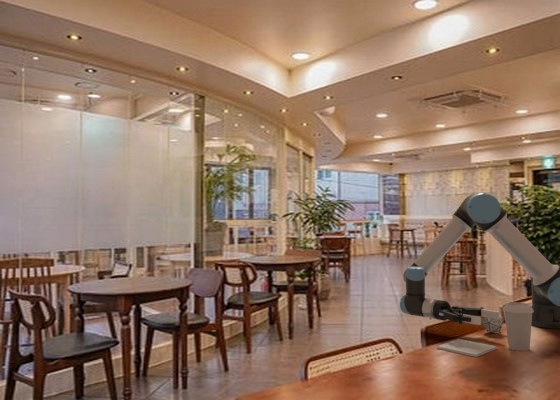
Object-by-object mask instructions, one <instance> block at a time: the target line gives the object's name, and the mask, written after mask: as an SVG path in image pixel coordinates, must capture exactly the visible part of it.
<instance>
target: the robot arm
mask: <svg viewBox="0 0 560 400" xmlns="http://www.w3.org/2000/svg"><path fill="white" fill-rule="evenodd" d="M451 216H452V219H451V220H450V221H449V222H447V224H446V225H445V227H444V228H443V229H442V230H441V231H440V232H439V234H438V235H436V237H435V238H434V239H433V241H432V242H430V244H429V245H428V246H427V247H425V249H424V251H423V252H422V253H421V254H420V255H419V256H418V257H417V259H416V260H415V261H413V263H412V264H411V265H410V266H407V267H406V269H405V270H404V272H403V275H402V276H403V280H404V283H405V295H402V296H401V298H400V302H399V308H400V311H401V312H402V313H403V314H407V315H409V316H415V317H422V318H428V319H429V320H430V321H431V320H433V319H434V320H438V321H443V322H444V321H447V320H448V321H450V322H454V323H455V324H456V323H458V324H459V325H462V324H463V323H464V324H465V323H466V324H472V325H476V326H477V325H478V326H482V325H481V323H482V318H484V317H486V318H493V319H499V318H500V311H496V310H490V309H484V307H483V306H481V307H472V306H471V307H469V306H460V305H457V306H456V305H454V306H453V305H452V306H451V304H450V303H449V302H448V301H446V300H440V299H435V298H429V297H428V298H427V297H426V277H427V276H428V274H429V273H430V272H432V270H433V269H434V268H435V266H436V265H438V263H439V262H440V261H441V260H442V259H443V257H444V256H446V254H447V253H448V252H449V251H450V250H451V249H452V248H453V246H455V244H456V243H457V242H458V241H459V240H460V239H461V238H462V236H464V234H465V233H466V232H467V231H470V230H473V228H474V227H475V226H477V227H478V228H479V229H480V230H481V232H482V233H489V235H491V236H492V237H493V238H494V239H495V241H497V243H498V244H500V246H502V248H503V249H504V250H505V251H506V252H507V253H508V254H509V255H510V256H511V257H512V258H513V259H514V260H515V261H516V262H517V263H518V264H519V265H520V266H521V267H522V269H524V270H525V271H526V273H527V274H528V275H529V276H530V279H531V282H530V283H531V307H532V308H533V311H534V312H533V313H532V323H531V326H533V325H534V327H537V328H544V329H545V328H546V329H560V265H559V264H552V263H551V262H550V261H549V260H548V259H547V258H546V257H545V256H544V255H543V254H542V253H541V252H540V251H539V250H538V248H536V247H535V246H534V245H533V244H532V242H530V240H529V239H528V238H526V236H525V235H524V234H522V232H521V231H519V230H518V228H517V227H516V226H515V225H514V224H513V223H512V222H511V221H510V220H509V219H508V212H507V211H506V210H505V209H504V208H503V207H502V206H501V203H500V201H499V200H498V198H497V197H495V196H494V195H493V194H490V193H487V192H477V193H474V194H469V195H468V196H467V197H466V198H464V200H463V201H462V202H461V204H460V205H459V207H458V208H457V209H456V210H455V212H453V214H452V215H451Z"/></svg>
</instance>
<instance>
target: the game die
mask: <svg viewBox="0 0 560 400" xmlns="http://www.w3.org/2000/svg"><path fill="white" fill-rule="evenodd" d="M482 318H483V319H482V320H481V325H480V326H482V328H484V329H485V330H486V332H489V335H491V334H492V333H493V334H494V333H499V334H502V332H501V329H503V328H502V327H503V324H504V323H506V320H503V319H502V318H501V317H499V319H493V318H486V317H482Z"/></svg>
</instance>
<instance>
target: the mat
mask: <svg viewBox="0 0 560 400" xmlns="http://www.w3.org/2000/svg"><path fill="white" fill-rule="evenodd" d="M436 348H437V349H439V350H443V351H447V352H451V353H455V354H461V355H464V356H470V357H474V358H478V357H480V356H482V355H485V354H487V353H491V352H492V351H495V350H497V346H496V345H491V344H486V343H480V342H476V341H471V340H466V339H461V338H457V339H454V340H451V341H448V342H446V343H443V344H440V345H437V347H436Z"/></svg>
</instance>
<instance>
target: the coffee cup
mask: <svg viewBox="0 0 560 400" xmlns="http://www.w3.org/2000/svg"><path fill="white" fill-rule="evenodd" d="M502 311H504V317H505V318H504V319H505V326H506V329H505V330H506V335H507V344H508V349H509V350H513V351H517V352H527V351H530V349H531V338H532V337H531V335H532V325H531V323H532V313H533V312H534V311H533V308H532V304H529V303H525V302H517V301H516V302H515V301H514V302H505V304H504V306H503V308H502Z"/></svg>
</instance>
